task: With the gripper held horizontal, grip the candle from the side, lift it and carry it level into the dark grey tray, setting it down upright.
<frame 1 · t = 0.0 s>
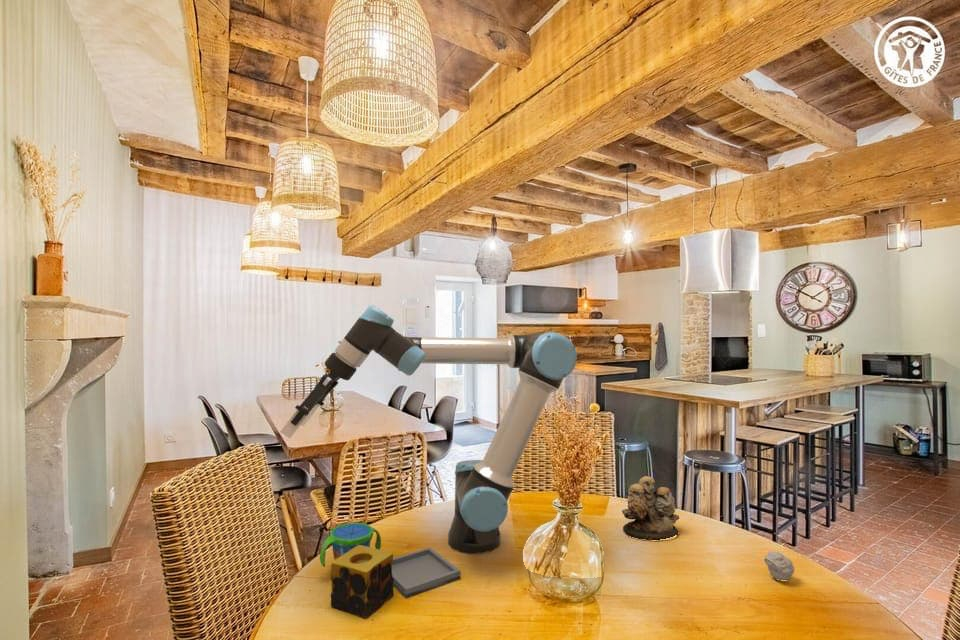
hand: (292, 428, 119), 36 cm above the table, tool tilted 35°, fingers open, 13 cm apart
candle: (362, 602, 107), on the table
tray: (418, 574, 119), on the table
snack cup: (351, 572, 120), on the table
owl figurine: (649, 533, 146), on the table
grey rounded lump: (779, 581, 119), on the table
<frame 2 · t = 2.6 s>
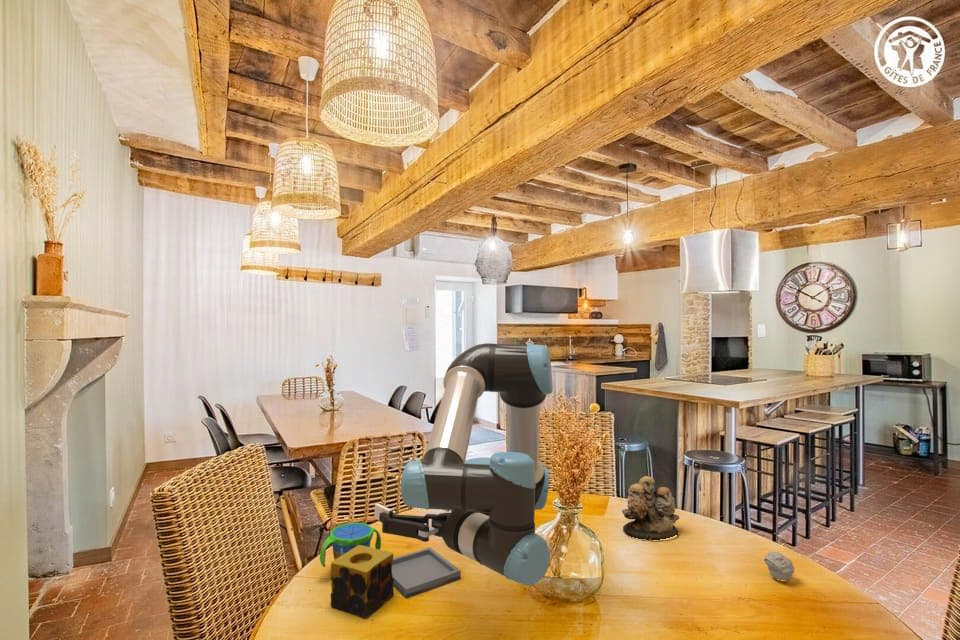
hand: (404, 503, 101), 24 cm above the table, tool horizontal, fingers open, 13 cm apart
nothing on the table moved.
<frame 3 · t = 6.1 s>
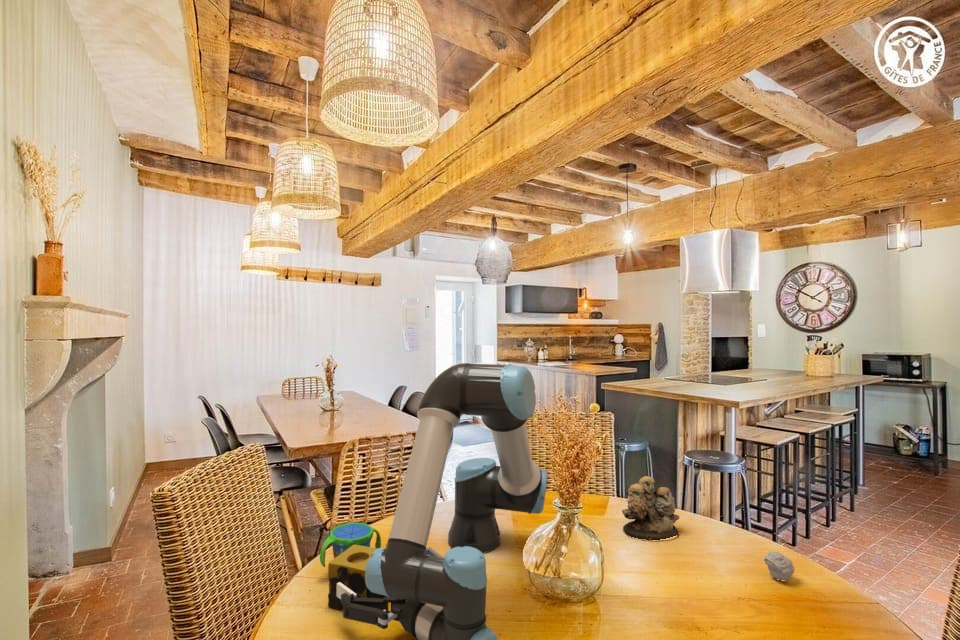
hand: (365, 576, 106), 6 cm above the table, tool horizontal, fingers open, 13 cm apart
candle: (359, 601, 107), on the table, touching gripper
everything else where it was.
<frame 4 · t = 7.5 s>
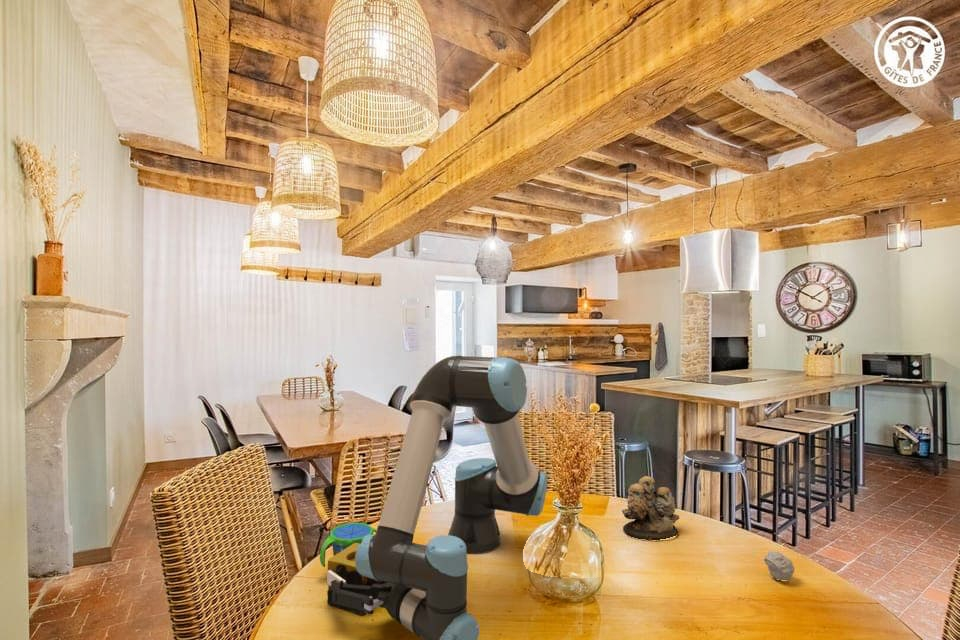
hand: (354, 566, 110), 7 cm above the table, tool horizontal, fingers closed on candle, 12 cm apart
candle: (358, 599, 108), on the table, touching gripper
everything else where it was.
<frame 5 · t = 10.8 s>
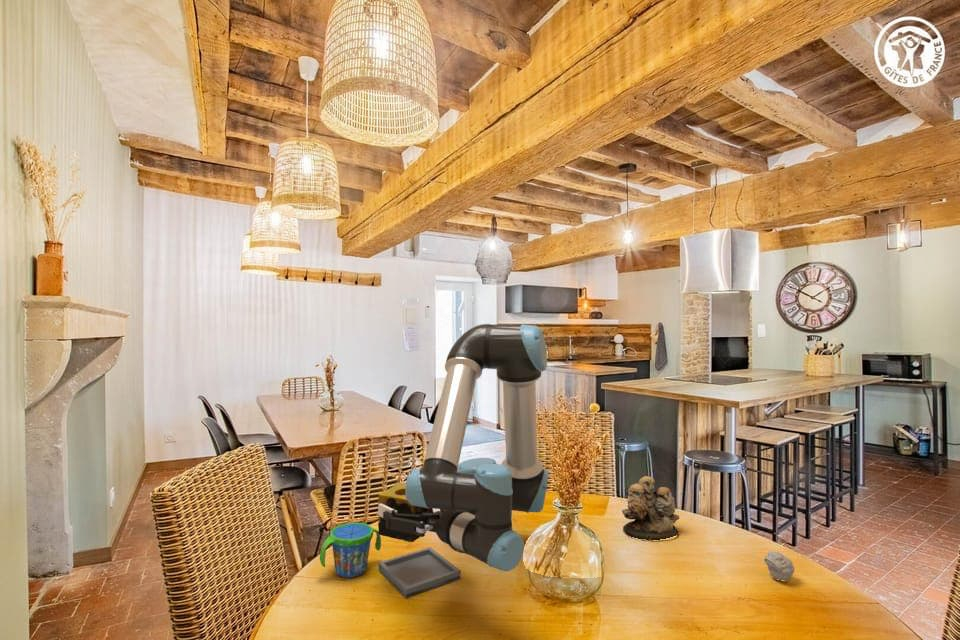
hand: (401, 502, 119), 18 cm above the table, tool horizontal, fingers closed on candle, 12 cm apart
candle: (406, 532, 118), point 11 cm above the table, touching gripper
everything else where it was.
when the fingers open (9 cm above the table, at t = 14.1 s): candle stays where it is, resting on tray.
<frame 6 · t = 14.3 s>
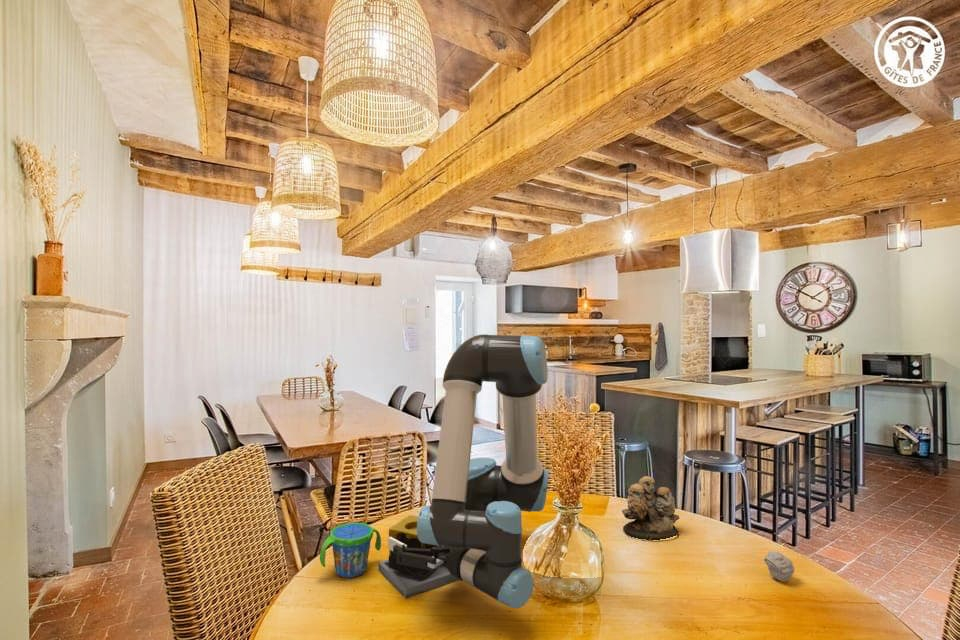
hand: (411, 534, 122), 9 cm above the table, tool horizontal, fingers open, 13 cm apart
candle: (415, 565, 120), point 2 cm above the table, touching tray
everything else where it was.
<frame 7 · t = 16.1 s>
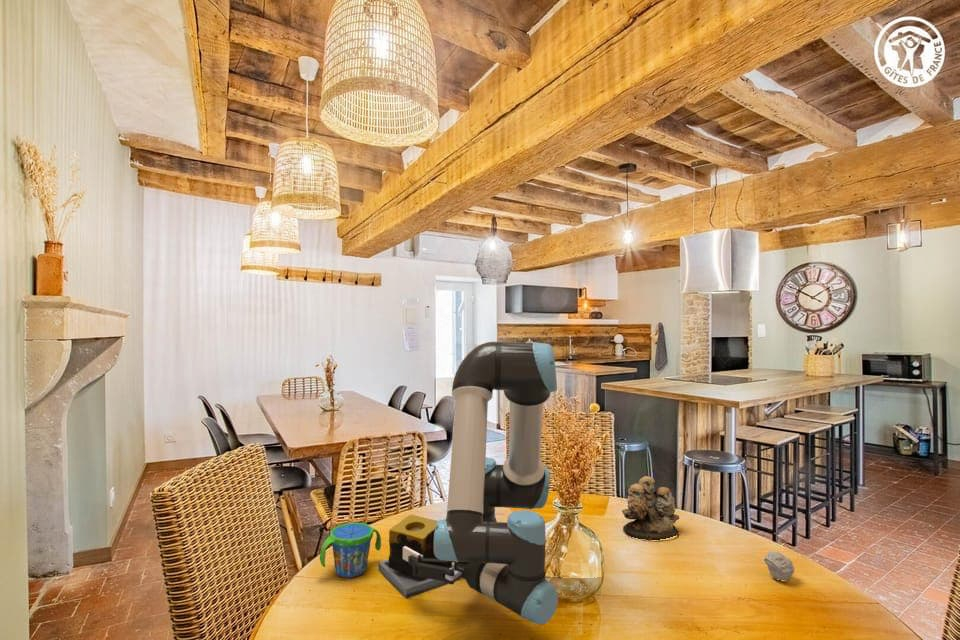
hand: (426, 543, 116), 9 cm above the table, tool horizontal, fingers open, 13 cm apart
nothing on the table moved.
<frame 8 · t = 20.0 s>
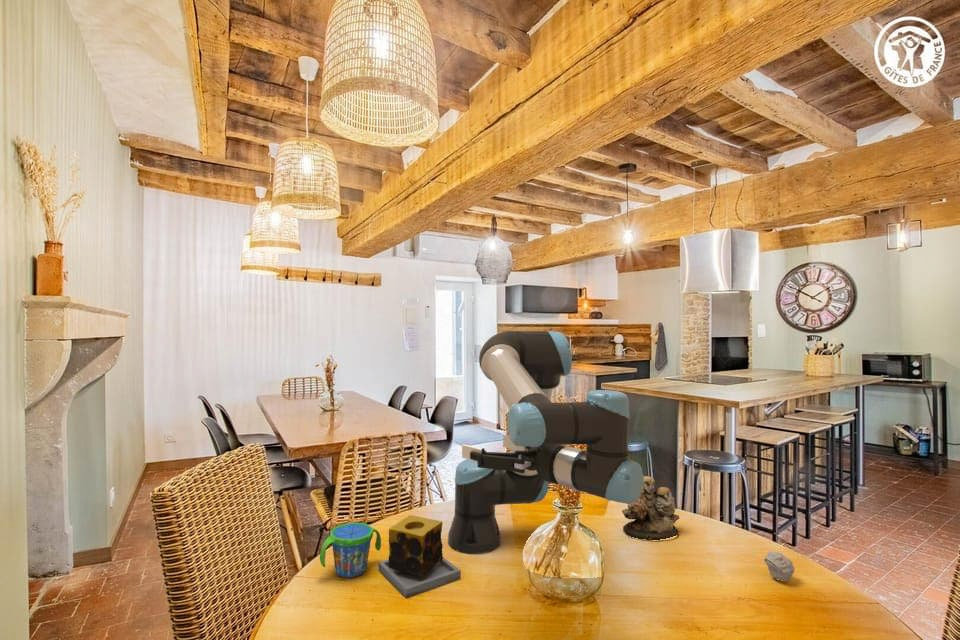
hand: (484, 445, 109), 35 cm above the table, tool horizontal, fingers open, 13 cm apart
nothing on the table moved.
at the end: candle inside the target area on the tray (1.4 cm from its centre), point 1.8 cm above the tray's base; candle tilted 0°; the gripper is holding nothing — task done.
